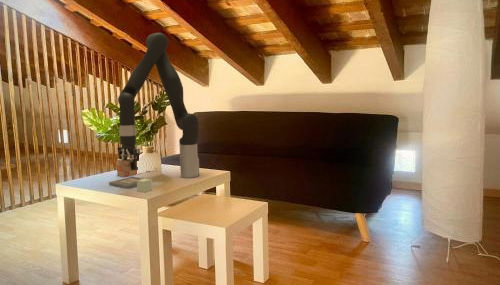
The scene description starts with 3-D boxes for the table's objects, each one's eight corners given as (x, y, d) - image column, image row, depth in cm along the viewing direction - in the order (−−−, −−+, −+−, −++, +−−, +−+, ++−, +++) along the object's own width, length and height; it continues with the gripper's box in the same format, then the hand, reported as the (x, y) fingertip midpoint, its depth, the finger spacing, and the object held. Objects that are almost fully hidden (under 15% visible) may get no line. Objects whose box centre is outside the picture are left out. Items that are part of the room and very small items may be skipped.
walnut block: (130, 168, 195) (129, 158, 194) (137, 169, 192) (137, 159, 191) (121, 170, 190) (120, 160, 190) (128, 171, 187) (127, 161, 187)
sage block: (144, 189, 182) (144, 178, 182) (151, 190, 180) (151, 179, 179) (137, 191, 179) (136, 180, 178) (143, 192, 176) (143, 181, 176)
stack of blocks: (123, 177, 207) (122, 154, 205) (117, 176, 211) (115, 153, 209) (156, 170, 223) (155, 149, 222) (149, 169, 227) (148, 148, 226)
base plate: (132, 179, 202) (132, 176, 202) (151, 182, 194) (151, 179, 194) (109, 185, 191) (109, 181, 190) (128, 188, 183) (127, 185, 183)
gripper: (143, 134, 188) (145, 169, 190) (124, 133, 196) (126, 166, 198) (131, 136, 182) (132, 172, 184) (111, 134, 190) (113, 168, 192)
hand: (129, 168), depth 191 cm, fingers closed on walnut block, 5 cm apart
